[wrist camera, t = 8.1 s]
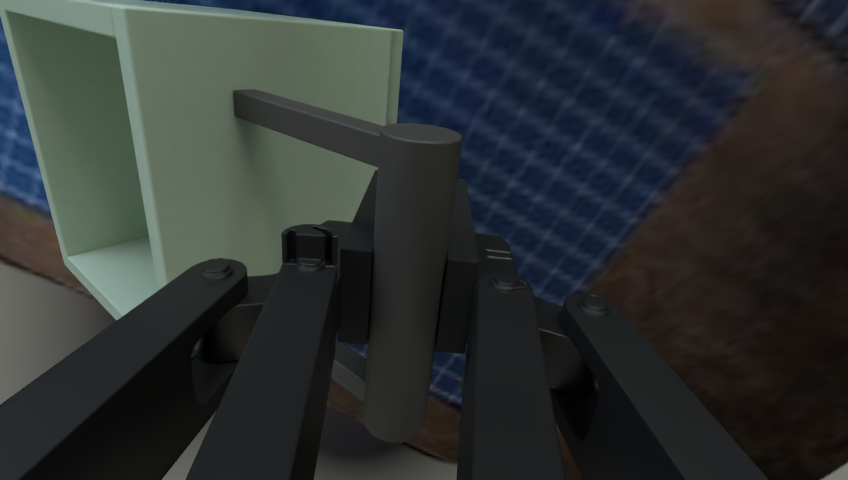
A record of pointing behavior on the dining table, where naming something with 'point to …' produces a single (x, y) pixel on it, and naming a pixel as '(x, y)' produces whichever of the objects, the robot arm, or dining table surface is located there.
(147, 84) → the pale green square box
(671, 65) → the dining table surface
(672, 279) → the dining table surface
